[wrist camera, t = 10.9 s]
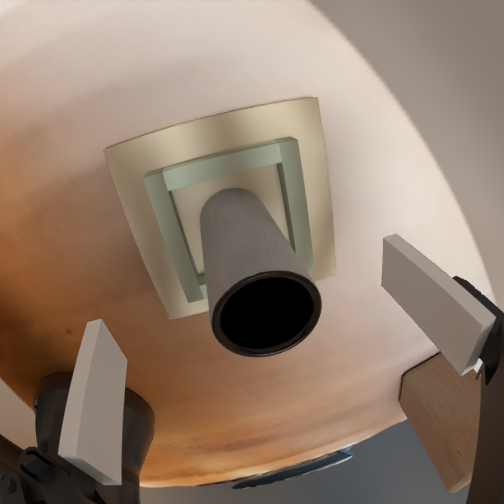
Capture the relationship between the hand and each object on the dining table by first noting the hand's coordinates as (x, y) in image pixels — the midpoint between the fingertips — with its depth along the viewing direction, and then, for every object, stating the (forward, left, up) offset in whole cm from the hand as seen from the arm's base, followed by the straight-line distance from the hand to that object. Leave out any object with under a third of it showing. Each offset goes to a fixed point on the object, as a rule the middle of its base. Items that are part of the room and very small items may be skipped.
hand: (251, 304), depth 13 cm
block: (+24, -33, -10) cm, 42 cm away
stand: (+1, 0, -10) cm, 10 cm away
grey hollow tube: (0, 0, -9) cm, 9 cm away
